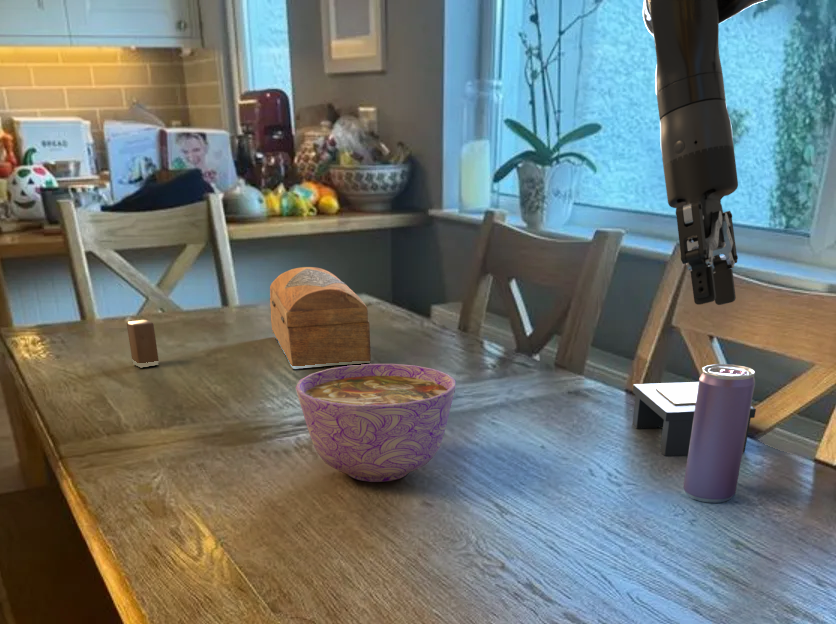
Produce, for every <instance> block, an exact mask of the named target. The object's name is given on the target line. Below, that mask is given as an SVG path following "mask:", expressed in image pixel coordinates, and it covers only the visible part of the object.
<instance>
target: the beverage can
mask: <svg viewBox="0 0 836 624" xmlns="http://www.w3.org/2000/svg"><path fill="white" fill-rule="evenodd" d="M755 374H756V371H755V370H754V369H753V368H751V367H748V366H744V365H739V364H731V363H730V364H728V363H717V364H709V365H706V366H703V367H702V370H701V374H700V376H699V379H698V382H699V385H698V391H697V398H696V405H695V411H694V418H693V425H692V432H691V438H690V445H689V452H688V455H687V459H686V466H685V472H684V480H683V485H682V487H683V488H682V489H683V491H684V493H685V495H686V496H687V497H688V498H690V499H692V500H694V501H697V502H702V503H708V504H709V503H710V504H718V503H724V502H727V501H729V500H731V499H732V498H733V497H734V495H735V494H736V493H737V486H738V482H739V481H738V480H739V476H740V469H741V464H742V459H743V458H742V457H743V448H744V442H745V437H746V431H747V425H748V420H749V414H750V408H751V406H752V402H753V397H754V391H755V386H756V379H755Z"/></svg>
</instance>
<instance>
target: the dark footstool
mask: <svg viewBox="0 0 836 624" xmlns="http://www.w3.org/2000/svg"><path fill="white" fill-rule="evenodd" d="M698 385H699V381H690V382H689V381H688V382H687V381H686V382H685V381H684V382H661V383H659V382H658V383H657V382H656V383H633V385H632V393H633V394H634V395H635V397H634V405H633V414H632V423H631V424H632V426H633V427H634V428H635V429H637V430H638V429H639V430H640V429H658V428H657V427H663V428H662V431H661V440H660V447H659V452H660V453H661V454H662V455H663V456H664V457H672V456H688V452H689V445H690V438H691V432H692V425H693V418H694V411H695V405H696V398H697V391H698ZM756 412H757V409H756V408H755V407H754V406H752V405H751V408H750V414H749V420H748V425H747V431H746V437H745V442H744V448H743V453H745V452H746V447H747V441H748V437H749V430H750V423H751V419H754V418H755V417H756ZM743 453H742V454H743Z"/></svg>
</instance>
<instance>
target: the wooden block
mask: <svg viewBox="0 0 836 624" xmlns="http://www.w3.org/2000/svg"><path fill="white" fill-rule="evenodd" d="M126 329H127V335H128V342H129V347H130V355H131V360H132V359H133V360H134V361H136V362H137V363H146V362H147V363H148V362H154V361H159V353H158V346H157V345H158V344H157V339H156V331H155V324H154V322H152V321H149V320H147V319H140V320H132V321H127V322H126ZM159 362H160V361H159Z"/></svg>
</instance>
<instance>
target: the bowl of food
mask: <svg viewBox="0 0 836 624" xmlns="http://www.w3.org/2000/svg"><path fill="white" fill-rule="evenodd" d="M456 381H457V380H456V379H455V378H454V377H453V376H451V375H449V374H448V373H446V372H443V371H441V370H438V369H435V368H431V367H425V366H419V365H414V364H413V365H412V364H400V363H399V364H398V363H370V364H361V365H347V366H336V367H331V368H327V369H323V370H320V371H317V372H312V373H310V374H308V375H306V376H304V377H303V378H301V379H299V380H298V382H297V384H296V385H295V390H296V391H295V392H296V394H297V397H298V401H299V404H300V408H301V410H302V413H303V417H304V421H305V424H306V427H307V431H308V432H309V433H308V434H309V436H310V439H311V441H312V445H313V447H314V449H315V451H316V453H317V455H319V457H320V458H321V459H322V460H323V462H324V463H325V464H326V465H328V466H330V467H331V468H333V469H335V470H336V471H339V472H341V473H343V474H346V475H348V476H349V477H350V478H352V479H355V480H358V481H361V482H369V483H370V482H371V483H382V482H391V481H396V480H400V479H402V478H404V477H406V476H407V475H408V474H409V473H412V472H414V471H416V470H418V469H420V468H421V467H423V466H425V465H427V464H428V463H429V462H430V461H431V460H432V459H433V458H434V456H435V455H436V454H437V452H438V451H439V450H440V448H441V446H442V443H443V438H444V435H445V432H446V428H447V424H448V420H449V416H450V412H451V408H452V403H453V400H454V396H455V392H456V387H457V386H456Z"/></svg>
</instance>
